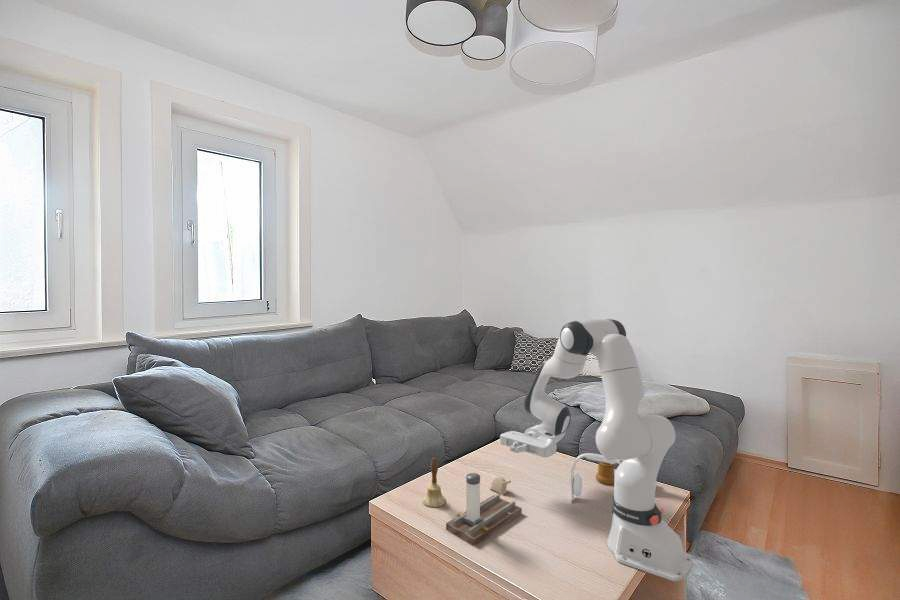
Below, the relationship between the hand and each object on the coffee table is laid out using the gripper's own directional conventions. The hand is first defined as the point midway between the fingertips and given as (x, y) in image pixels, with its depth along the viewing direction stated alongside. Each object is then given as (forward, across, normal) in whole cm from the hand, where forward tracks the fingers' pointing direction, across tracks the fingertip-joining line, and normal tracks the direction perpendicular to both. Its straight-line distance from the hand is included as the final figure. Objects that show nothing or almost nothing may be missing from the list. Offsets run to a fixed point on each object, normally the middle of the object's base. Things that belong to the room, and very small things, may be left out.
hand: (513, 449), depth 152 cm
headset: (-21, +21, +20) cm, 36 cm away
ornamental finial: (-39, +15, +20) cm, 47 cm away
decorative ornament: (-4, -10, +20) cm, 22 cm away
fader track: (+15, -1, +20) cm, 25 cm away
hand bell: (+18, -22, +19) cm, 34 cm away
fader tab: (+21, -1, +17) cm, 27 cm away
